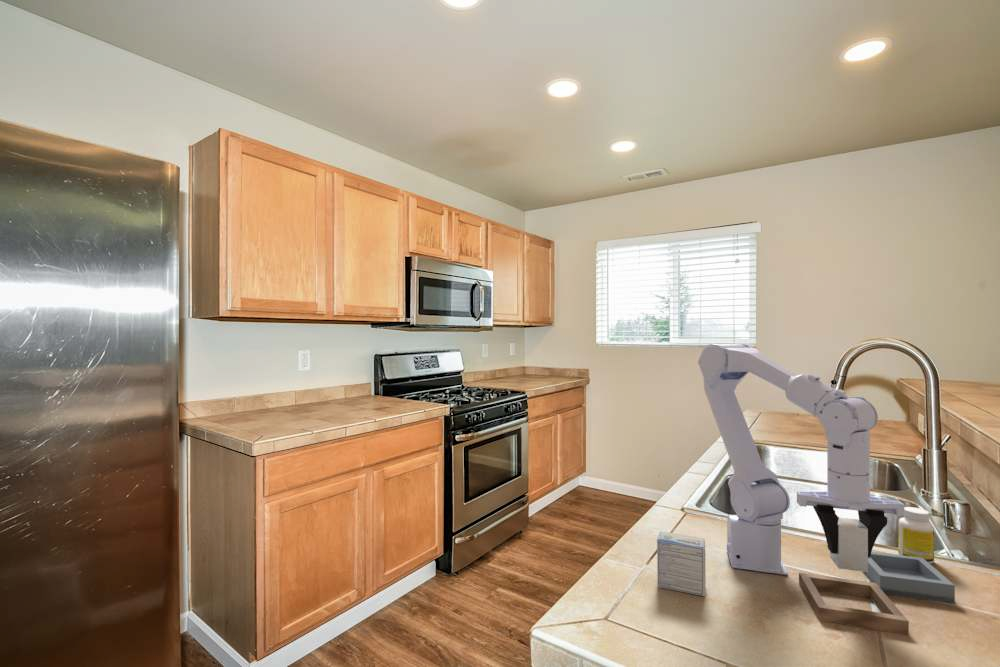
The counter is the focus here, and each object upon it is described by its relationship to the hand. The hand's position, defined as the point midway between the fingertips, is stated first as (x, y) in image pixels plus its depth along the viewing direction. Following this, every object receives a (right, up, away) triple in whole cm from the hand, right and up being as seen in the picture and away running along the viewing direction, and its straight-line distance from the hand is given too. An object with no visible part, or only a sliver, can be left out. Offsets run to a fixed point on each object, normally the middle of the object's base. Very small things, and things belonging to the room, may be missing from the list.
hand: (848, 553), depth 79 cm
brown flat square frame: (0, -9, 0) cm, 9 cm away
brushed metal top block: (0, -2, 0) cm, 2 cm away
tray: (+15, -9, +8) cm, 19 cm away
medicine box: (-25, -9, +6) cm, 28 cm away
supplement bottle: (+26, -9, +17) cm, 32 cm away
